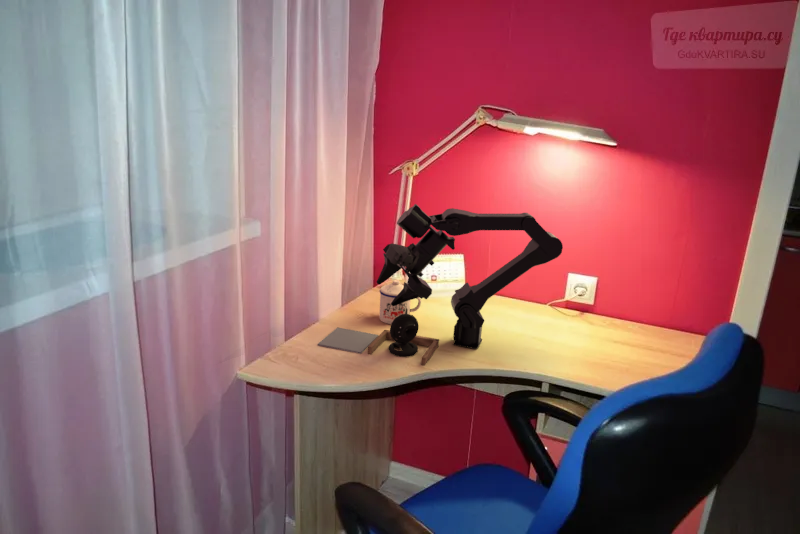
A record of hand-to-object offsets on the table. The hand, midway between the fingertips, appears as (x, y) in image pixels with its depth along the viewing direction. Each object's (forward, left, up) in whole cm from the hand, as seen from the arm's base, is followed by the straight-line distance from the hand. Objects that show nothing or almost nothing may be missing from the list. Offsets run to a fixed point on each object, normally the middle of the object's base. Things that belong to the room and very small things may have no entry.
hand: (384, 294), depth 153 cm
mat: (+8, +3, -13) cm, 16 cm away
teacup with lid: (+1, -17, -13) cm, 21 cm away
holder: (-7, +3, -13) cm, 15 cm away
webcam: (-7, +3, -13) cm, 15 cm away
